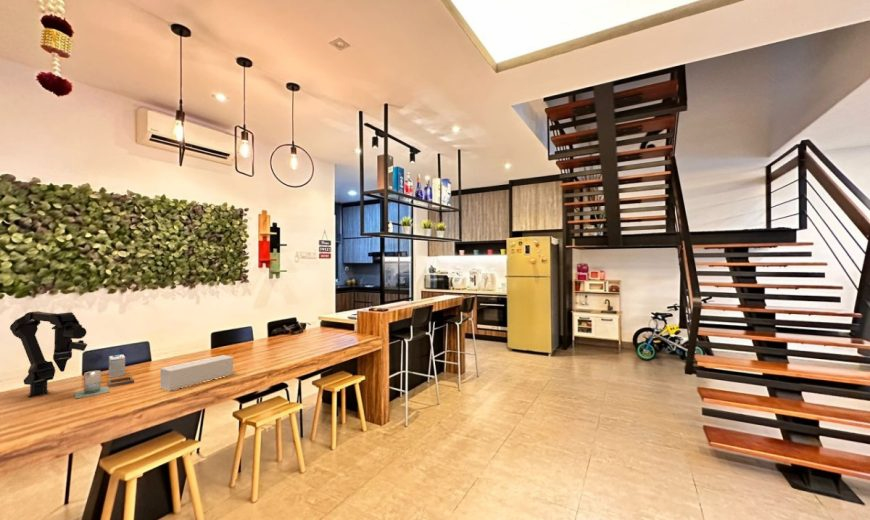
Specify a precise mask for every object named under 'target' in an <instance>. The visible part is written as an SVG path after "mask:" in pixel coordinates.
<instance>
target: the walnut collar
mask: <svg viewBox="0 0 870 520" xmlns="http://www.w3.org/2000/svg"><path fill="white" fill-rule="evenodd" d="M134 383H135V379H134V378H133V376H124V377H120V378H114V379H110V380H107V386H108V388H109V387H110V388H114V387H119V386H125V385H131V384H134Z"/></svg>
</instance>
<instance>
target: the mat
mask: <svg viewBox="0 0 870 520" xmlns="http://www.w3.org/2000/svg"><path fill="white" fill-rule="evenodd" d="M108 392H109V393H110V388H109V386H108V385H107V386H102V387H101V386H100V391H99V392H96V393H91V394H84V390H81V391H75V392H74V397H75V400H78V399H77V398H79V399H83V398H82V397H84V398H89V397H93V395H94V396H99V395H103V394H102V393H104V394H108ZM98 394H99V395H98ZM88 396H89V397H88Z"/></svg>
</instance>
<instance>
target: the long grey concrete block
mask: <svg viewBox="0 0 870 520" xmlns="http://www.w3.org/2000/svg"><path fill="white" fill-rule="evenodd" d="M231 374H233V375H234V357H233V356H230V355H227V354H226V355H225V354H221V355H216V356H212V357H207V358H202V359H198V360H197V359H196V360H194V361H188V362H183V363H178V364H174V365H170V366H164V367H160V376H159V377H160V381H159V382H160V384H159V385H160V387H161V388H164V389H166V390H168V391H167V392H169V391H170V392H172V391H171V390H174V391H176V390H175V389H178V390H180V389H179V388H182V387H186V386H189V387H191V386H190V385H193V384H197V383H200V382H203V381H207V380H211V379H215V378H219V377H223V376H227V375H231ZM231 376H232V375H231ZM197 385H198V384H197ZM193 386H194V385H193ZM161 388H160V389H161ZM186 388H187V387H186ZM164 389H163V390H164ZM182 389H183V388H182ZM166 390H165V391H166Z"/></svg>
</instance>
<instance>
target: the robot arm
mask: <svg viewBox="0 0 870 520" xmlns="http://www.w3.org/2000/svg"><path fill="white" fill-rule="evenodd" d="M41 322H47V323H49V324H50V325H53V326H52V327H51V330H54V343H53V344H54V348H53V355H52V359H53V361H51V360H50V361H47V360H46V359H45V356H44V353H43V351H42V349H41V346H40V344H39V341H38V338H37V336H36V334H37V332H38V330H39V328H38V327H39V325H40V324H42V323H41ZM9 329H10V331H11V333H12V334H13V336H14V337H16V338H18V339H19V340H20V341H21V344H22V345H23V349H24V351H25V353H26V357H27V359H28V362H29V364H30V366H29V368H28V370H27V372H28V373H27V376H26V377H25V378H24V379H23V384H24V385H26V386H27V385H29V393H28V398H32V396H33V397H37V396H43V395H49V389H48V382H49V381H51V380H54V377H55V374H56V367H55V366H54V363H55V365H56V366H57V368H58V370H59V371H60V372H64V371H65V369H66V366H67V363H68V360H70V359H71V358H72V357H73V350H77V351H81V352H84V351H86V348H87V346H88V343H86V342H85V341H84V340H82V339H83V338H84V337H85V336H86V335H87V329H86V328H85V327H83V325H82V324H81V323H80V321H79V320H78V319H77V317H76V315H75V314H74V312H72V311H71V312H60V313H56V312H46V311H45V312H44V311H39V310H38V311H29V312H26V313H25V314H24V315H23V316H21V317H18V318H17V319H15V320H14V321H13V322H12V323H11V325H10V327H9ZM73 339H75V340H76V339H77V340H78V341H73ZM79 339H81V340H79Z"/></svg>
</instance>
